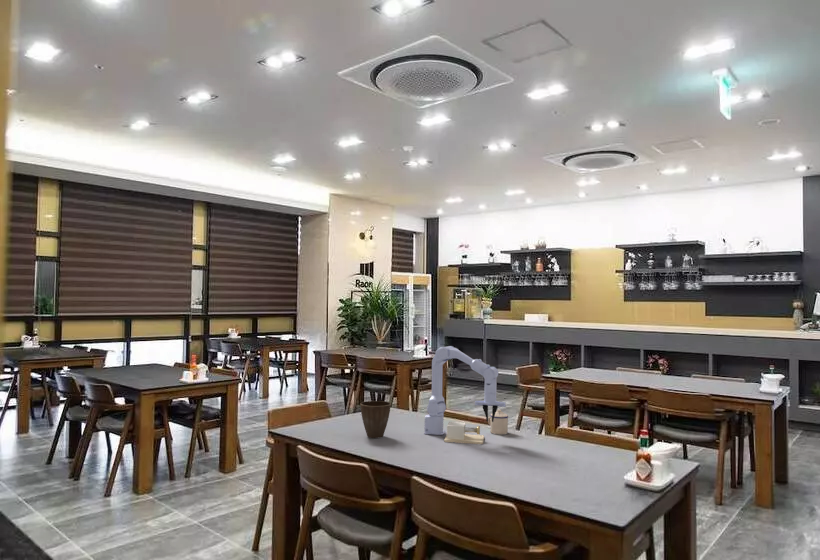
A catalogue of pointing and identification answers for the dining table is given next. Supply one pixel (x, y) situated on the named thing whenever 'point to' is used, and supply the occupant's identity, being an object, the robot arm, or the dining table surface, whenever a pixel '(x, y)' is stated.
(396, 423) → the dining table surface
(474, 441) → the bearing block
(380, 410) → the plant pot
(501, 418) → the teacup with lid
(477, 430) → the shaft
